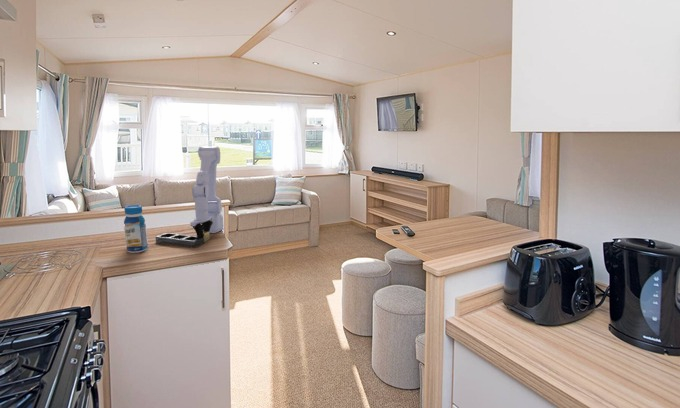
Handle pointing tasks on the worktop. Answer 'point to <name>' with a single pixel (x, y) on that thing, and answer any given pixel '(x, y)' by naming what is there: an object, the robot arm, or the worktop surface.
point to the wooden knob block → (206, 235)
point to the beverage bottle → (135, 229)
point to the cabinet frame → (180, 240)
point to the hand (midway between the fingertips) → (203, 237)
